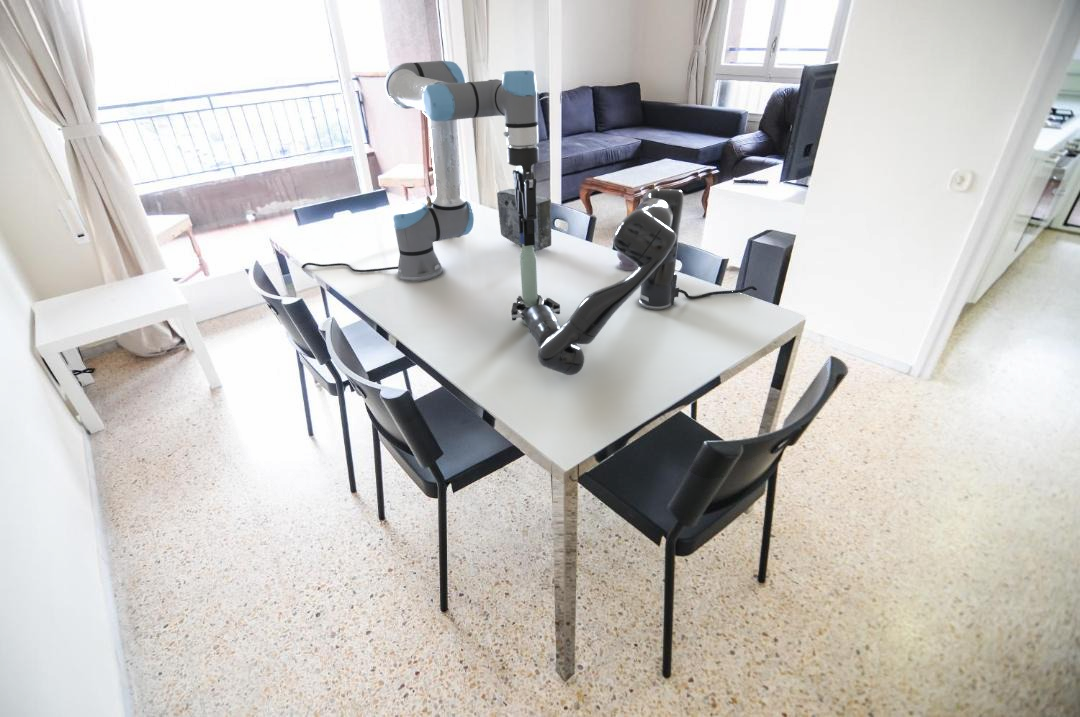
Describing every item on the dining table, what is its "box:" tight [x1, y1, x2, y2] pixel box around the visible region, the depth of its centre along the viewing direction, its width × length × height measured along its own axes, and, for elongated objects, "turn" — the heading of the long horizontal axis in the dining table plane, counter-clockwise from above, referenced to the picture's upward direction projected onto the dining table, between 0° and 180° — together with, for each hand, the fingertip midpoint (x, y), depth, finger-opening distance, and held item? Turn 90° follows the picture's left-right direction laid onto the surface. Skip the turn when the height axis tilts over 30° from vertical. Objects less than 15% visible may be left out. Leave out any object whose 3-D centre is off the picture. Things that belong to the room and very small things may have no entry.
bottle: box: [519, 244, 538, 326], centre depth 135 cm, size 4×4×25 cm
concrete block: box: [496, 188, 552, 251], centre depth 192 cm, size 27×9×20 cm, turn 36°
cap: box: [519, 233, 524, 244], centre depth 129 cm, size 4×4×2 cm
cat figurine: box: [616, 250, 638, 271], centre depth 171 cm, size 9×8×12 cm
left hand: (527, 242), depth 129 cm, fingers closed on cap, 4 cm apart
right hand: (527, 298), depth 141 cm, fingers closed on bottle, 4 cm apart
